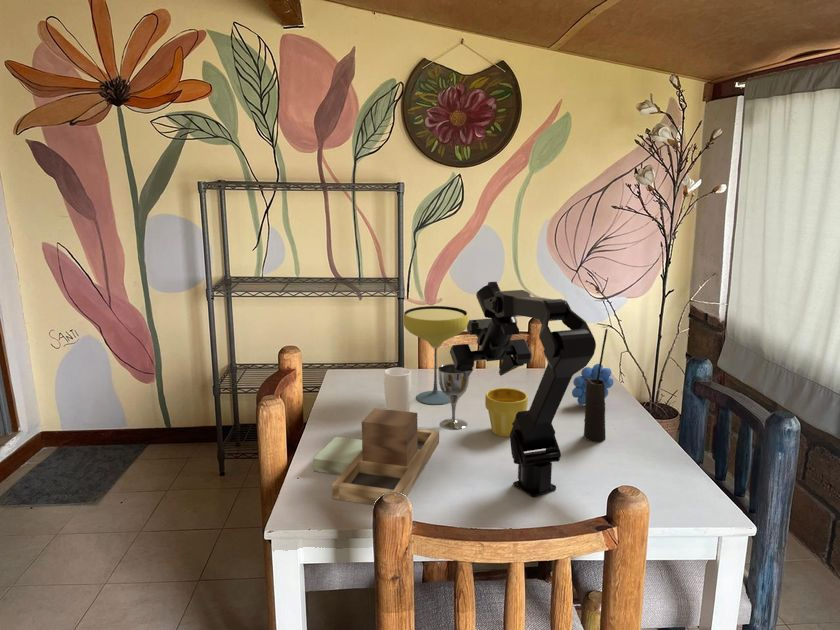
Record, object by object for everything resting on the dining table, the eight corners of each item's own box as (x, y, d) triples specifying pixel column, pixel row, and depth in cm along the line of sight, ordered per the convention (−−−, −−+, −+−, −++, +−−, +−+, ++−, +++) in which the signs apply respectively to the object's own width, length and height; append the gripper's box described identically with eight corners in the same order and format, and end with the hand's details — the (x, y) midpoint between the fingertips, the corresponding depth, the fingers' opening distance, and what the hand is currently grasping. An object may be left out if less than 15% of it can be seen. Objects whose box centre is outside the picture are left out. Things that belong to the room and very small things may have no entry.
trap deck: (439, 442, 155) (439, 431, 154) (398, 508, 125) (398, 494, 125) (351, 432, 161) (351, 421, 160) (293, 492, 132) (292, 479, 131)
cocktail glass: (468, 388, 192) (469, 306, 186) (465, 411, 175) (467, 321, 169) (407, 386, 194) (407, 305, 188) (399, 408, 176) (398, 319, 171)
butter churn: (562, 434, 159) (567, 324, 153) (589, 426, 164) (596, 319, 158) (590, 448, 152) (597, 333, 145) (617, 438, 157) (626, 327, 150)
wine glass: (450, 415, 171) (450, 361, 168) (475, 423, 166) (476, 367, 163) (431, 425, 165) (431, 369, 162) (456, 433, 160) (457, 375, 157)
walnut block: (417, 450, 144) (417, 412, 142) (406, 466, 136) (406, 426, 134) (375, 445, 146) (374, 408, 144) (362, 460, 139) (361, 421, 137)
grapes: (605, 398, 183) (608, 358, 181) (615, 407, 177) (618, 365, 174) (565, 400, 182) (568, 360, 179) (574, 409, 176) (576, 367, 173)
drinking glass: (379, 430, 162) (378, 373, 159) (393, 420, 168) (392, 365, 165) (403, 435, 159) (402, 377, 156) (416, 425, 165) (416, 369, 162)
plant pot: (525, 441, 155) (526, 403, 153) (482, 438, 157) (483, 400, 155) (527, 425, 165) (528, 388, 163) (486, 421, 167) (487, 386, 165)
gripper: (524, 305, 153) (506, 347, 164) (450, 310, 148) (437, 353, 159) (541, 340, 146) (522, 382, 157) (464, 347, 141) (450, 390, 152)
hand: (482, 375), depth 156 cm, fingers open, 9 cm apart
